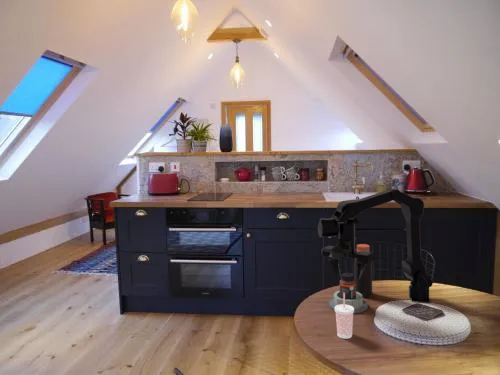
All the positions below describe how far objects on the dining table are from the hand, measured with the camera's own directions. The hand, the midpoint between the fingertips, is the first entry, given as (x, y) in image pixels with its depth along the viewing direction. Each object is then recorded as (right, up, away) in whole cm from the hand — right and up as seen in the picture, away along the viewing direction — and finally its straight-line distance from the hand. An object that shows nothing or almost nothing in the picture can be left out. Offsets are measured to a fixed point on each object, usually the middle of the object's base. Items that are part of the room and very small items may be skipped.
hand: (347, 276), depth 147 cm
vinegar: (+9, -10, +11) cm, 18 cm away
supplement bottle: (+1, -11, +1) cm, 11 cm away
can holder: (+1, -11, +1) cm, 11 cm away
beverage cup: (-6, -14, -21) cm, 26 cm away
